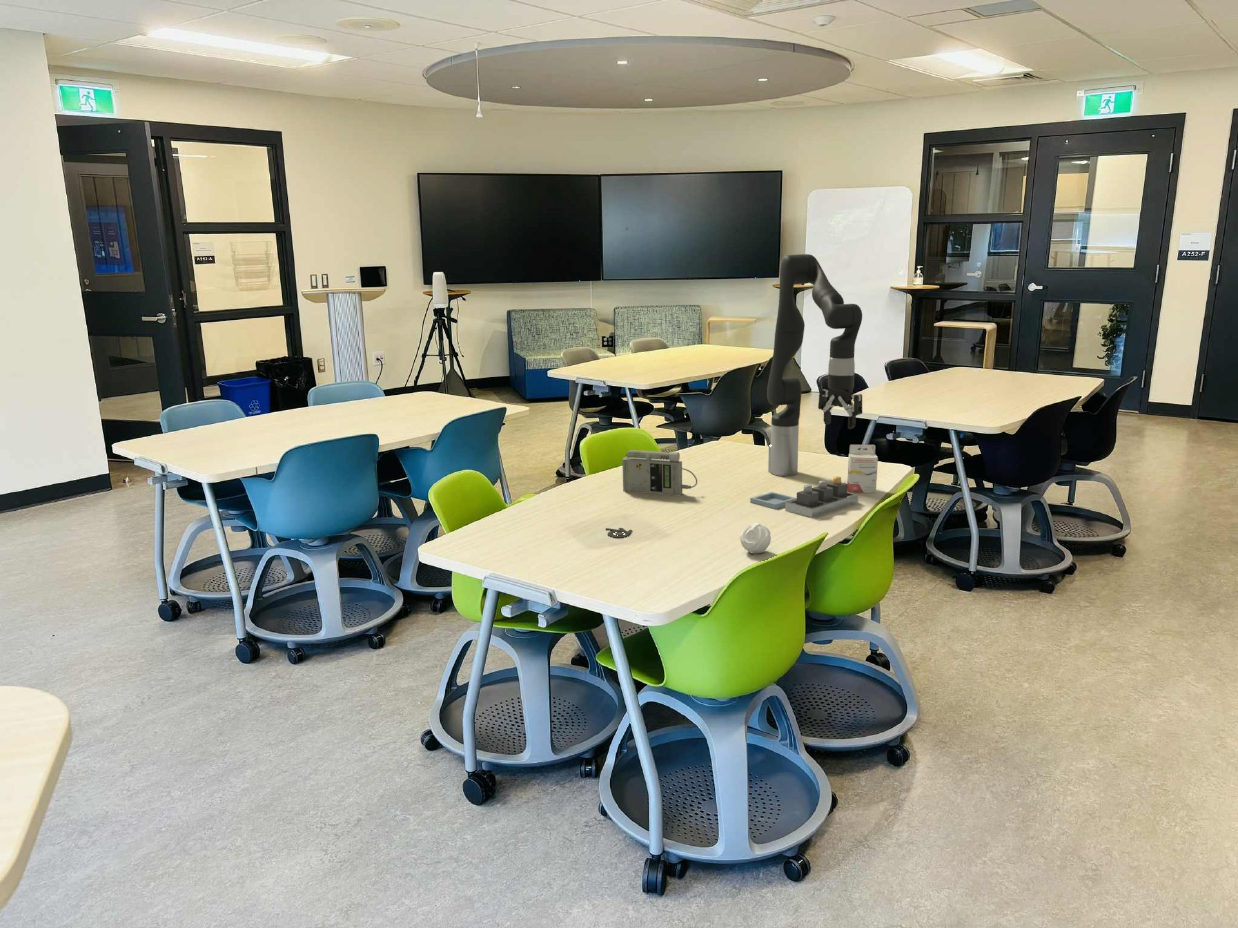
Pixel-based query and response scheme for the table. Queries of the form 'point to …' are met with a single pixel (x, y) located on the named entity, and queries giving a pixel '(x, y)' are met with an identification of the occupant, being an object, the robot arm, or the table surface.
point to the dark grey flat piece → (618, 533)
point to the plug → (838, 487)
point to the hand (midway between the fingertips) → (839, 426)
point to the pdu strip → (821, 506)
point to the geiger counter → (653, 473)
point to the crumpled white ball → (755, 538)
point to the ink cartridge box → (862, 469)
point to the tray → (771, 500)
